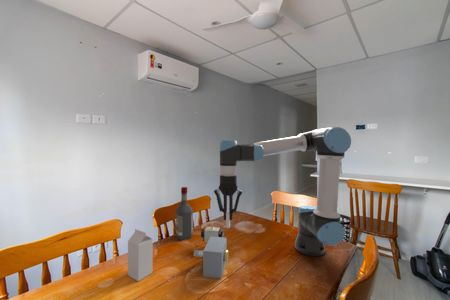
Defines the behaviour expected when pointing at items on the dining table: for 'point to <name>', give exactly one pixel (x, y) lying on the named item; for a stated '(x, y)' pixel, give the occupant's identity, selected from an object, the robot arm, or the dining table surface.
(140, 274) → the milk carton
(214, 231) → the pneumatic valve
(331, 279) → the dining table surface
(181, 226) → the liquor
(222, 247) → the block
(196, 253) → the pin
